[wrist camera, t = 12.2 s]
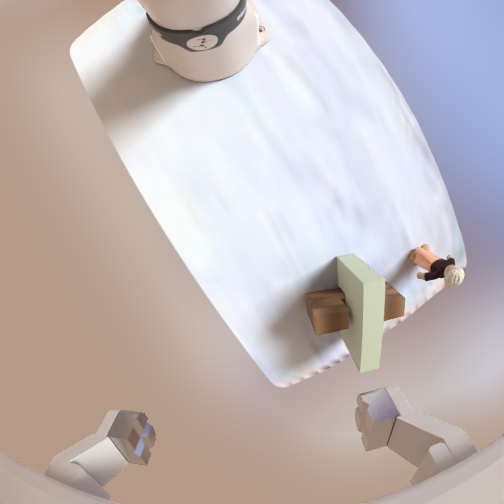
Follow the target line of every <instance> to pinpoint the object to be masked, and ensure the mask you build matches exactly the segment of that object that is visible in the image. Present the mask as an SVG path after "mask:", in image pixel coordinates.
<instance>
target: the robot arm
mask: <svg viewBox="0 0 504 504" xmlns="http://www.w3.org/2000/svg"><path fill="white" fill-rule="evenodd" d="M137 1H138V2H139V3H140V4H141V6H142V7H143V8H144V9H145V11H146V15H147V18H148V21H149V23H150V25H151V30H152V34H151V35H150V39H151V41H152V43H153V45H154V46H155V47H154V52H153V59H154V60H155V62H157V63H159V64H162V65H166V66H169V67H171V68H172V69H173V70H174V71H175V72H176V73H178V74H179V75H180V76H182V77H184V78H187V79H189V80H193V81H201V82H208V81H216V80H220V79H224V78H227V77H229V76H231V75H233V74H235V73H237V72H238V71H240V70H241V69H242V68H244V67H245V66H246V65H247V64H248V63H249V61H250V60H251V58H252V57H253V55H254V53H255V52H256V50H257V49H258V48H260V47H262V46H263V45H264V44H266V43H267V42H268V41H269V40H270V34H269V31H268V30H267V28H266V26H265V24H264V22H263V20H262V18H261V16H260V15H259V13H258V11H257V9H256V7H255V6H254V4H253V2H252V0H137ZM259 30H261V31H262V32H259ZM357 403H358V407H357V408H356V412H355V419H356V424H357V428H358V431H360V432H362V433H363V434H362V442H363V445H364V447H365V450H366V451H370V450H373V449H377V448H381V447H384V446H387V447H388V448H390V449H391V450H393V451H394V452H395V453H397V454H398V455H400V456H402V457H403V458H404V459H406V460H407V461H409V462H410V463H412V464H413V465H415V466H416V467H418V470H417V471H416V473H415V474H414V476H413V477H412V479H411V484H412V486H410V487H407V488H405V489H402V490H399V491H397V492H394V493H391V494H388V495H385V496H382V497H379V498H376V499H373V500H370V501H366V502H363V503H359V504H504V434H503V435H501V436H500V437H499V438H497V439H496V440H494V441H493V442H492V443H490V444H489V445H487V446H486V447H484V448H483V449H481V450H480V451H477V450H476V448H475V446H474V445H473V443H472V442H471V440H470V439H469V437H468V436H467V434H466V433H465V431H464V430H463V429H461V428H458V427H455V426H453V425H451V424H448V423H446V422H443V421H441V420H439V419H436V418H434V417H431V416H429V415H427V414H425V413H422V412H420V411H418V410H415V411H413V410H412V408H411V407H410V405H409V403H408V402H407V400H406V398H405V397H404V395H403V393H402V392H401V390H400V389H399V387H398V385H396V384H394V385H390V386H387V387H384V388H380V389H377V390H373V391H370V392H366V393H362V394H359V395H358V397H357ZM147 420H148V418H147V416H146V415H145V413H142V412H133V411H125V410H118V409H111V410H109V411H108V413H107V415H106V417H105V418H104V420H103V422H102V424H101V426H100V427H99V429H98V431H97V433H96V434H92V435H90V436H88V437H87V438H85V439H83V440H82V441H80V442H78V443H76V444H75V445H73V446H71V447H70V448H68V449H66V450H64V451H63V452H61V453H59V454H57V455H55V457H54V459H53V460H52V462H51V464H50V465H49V467H48V469H47V471H46V472H45V474H42V473H40V472H38V471H36V470H34V469H32V468H30V467H28V466H27V465H25V464H23V463H21V462H19V461H18V460H16V459H14V458H13V457H11V456H9V455H8V454H6V453H5V452H3V451H2V450H0V504H120V503H117V502H113V501H110V497H111V496H110V494H109V493H108V492H107V491H106V490H104V489H103V488H102V487H103V486H105V485H106V484H107V483H108V482H109V481H110V480H111V479H112V478H114V477H115V476H116V475H117V474H118V473H120V472H121V471H122V470H123V469H124V468H125V467H126V466H127V465H128V464H129V463H133V464H140V465H147V464H148V461H149V458H150V455H151V453H150V450H149V449H150V448H151V447H153V445H154V443H155V431H154V428H153V426H152V425H150V424H149V423H148V422H147Z"/></svg>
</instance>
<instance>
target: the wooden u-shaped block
mask: <svg viewBox="0 0 504 504" xmlns="http://www.w3.org/2000/svg"><path fill="white" fill-rule="evenodd" d="M306 303H307V311H308V314H309V317H310V319H311V322H312V324H313V327H314V330H315V332H316V335H319V334H324V333H330V332H335V331H340V330H345V329H349V310H348V309H347V307H346V306H345V293H344V292H343V291H342V289H341V288H338V289H332V290H326V291H320V292H314V293H308V294H306ZM404 308H405V298H404V297H403V296H402V295H401V294H400V293H399V292H397V291H396V290H395V289H394V288H393V287H392V286H390V285H389V284H388V283H387V282H386V281H385V306H384V321H386V320H390V319H394V318H398V317H402V316H404Z"/></svg>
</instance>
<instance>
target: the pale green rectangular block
mask: <svg viewBox="0 0 504 504" xmlns="http://www.w3.org/2000/svg"><path fill="white" fill-rule="evenodd" d="M336 258H337V276H338V285H339V287H340V288H341V289H342V291H343V292H344V293H345V306H346V307H347V309H348V310H349V329H345V330H340V331H339V333H340V335H341V337H342V339H343V341H344V343H345V345H346V346H347V348H348V350H349V352H350V354H351V356H352V358H353V360H354V362H355V364H356V366H357V368H358V370H359V372H360V373H362V372H366V371H370V370H374V369H378V368H379V363H380V355H381V346H382V335H383V323H384V306H385V278H384V277H382V276H381V275H380V274H379V273H377V272H376V271H375V270H374V269H372V268H371V267H370V266H369V265H367V264H366V263H365V262H364V261H362V260H361V259H360V258H359V257H357V256H356V255H355V254H349V255H343V256H336Z"/></svg>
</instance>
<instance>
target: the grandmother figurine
mask: <svg viewBox="0 0 504 504" xmlns="http://www.w3.org/2000/svg"><path fill="white" fill-rule="evenodd" d="M410 259H411V262H412V264H413V265H418V266H420V267H421V268H423V269H426V270H428V271H429V272H428V273H421V272H419V273H417V278H418V279H423V280H425V281H429V280H434V279H437V278H444V281H445V285H446V286H448V287H449V288H453V287H456V286H458V285H459V284H461V283H462V281H463V278H464V271H463V269H462V268H457V267H456V266H455V260H454V258H452V256H451V255H448V256H447V260H444V259H441V258H439V257H437V256H436V255H434V254H433V253H431V252H429V246H428V245H426V244H425V245H423V246H422V247H417V248H416V249H415V250H414V251H412V252H411V253H410Z"/></svg>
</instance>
